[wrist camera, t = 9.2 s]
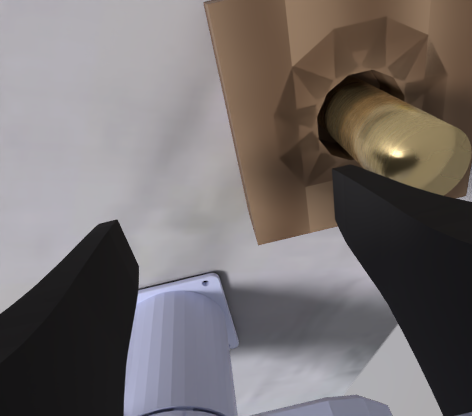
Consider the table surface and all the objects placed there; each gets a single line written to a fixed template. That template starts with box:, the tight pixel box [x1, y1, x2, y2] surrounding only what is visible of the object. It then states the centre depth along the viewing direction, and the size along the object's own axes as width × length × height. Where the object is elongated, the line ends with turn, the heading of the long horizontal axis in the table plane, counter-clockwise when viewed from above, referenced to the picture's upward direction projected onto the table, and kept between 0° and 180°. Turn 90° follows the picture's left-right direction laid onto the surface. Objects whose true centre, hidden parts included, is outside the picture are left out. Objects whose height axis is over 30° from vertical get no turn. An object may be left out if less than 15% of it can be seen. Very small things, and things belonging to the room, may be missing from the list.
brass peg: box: [317, 76, 471, 196], centre depth 16 cm, size 3×3×8 cm
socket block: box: [203, 0, 472, 245], centre depth 18 cm, size 12×12×4 cm
